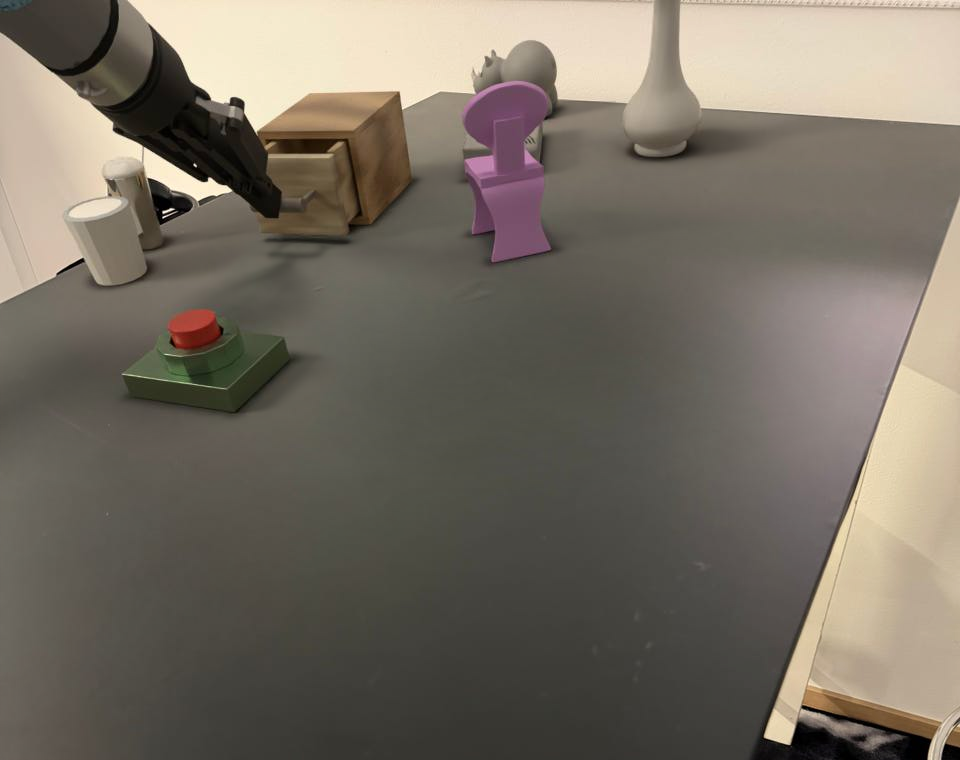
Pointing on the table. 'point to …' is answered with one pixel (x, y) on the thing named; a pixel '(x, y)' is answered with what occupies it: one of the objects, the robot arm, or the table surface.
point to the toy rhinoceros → (521, 69)
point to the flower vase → (662, 92)
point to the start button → (194, 329)
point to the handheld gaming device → (479, 150)
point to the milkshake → (135, 196)
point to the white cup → (107, 239)
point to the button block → (208, 369)
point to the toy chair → (507, 167)
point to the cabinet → (355, 140)
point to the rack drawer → (311, 187)
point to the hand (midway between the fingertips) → (273, 204)
